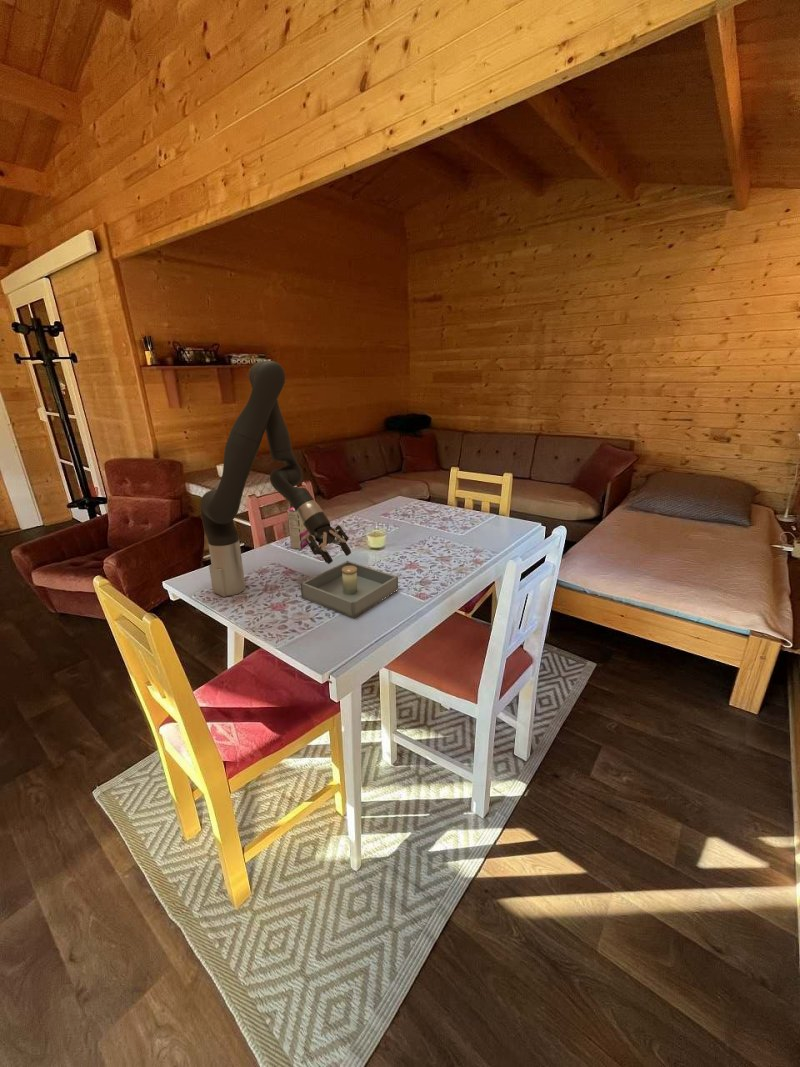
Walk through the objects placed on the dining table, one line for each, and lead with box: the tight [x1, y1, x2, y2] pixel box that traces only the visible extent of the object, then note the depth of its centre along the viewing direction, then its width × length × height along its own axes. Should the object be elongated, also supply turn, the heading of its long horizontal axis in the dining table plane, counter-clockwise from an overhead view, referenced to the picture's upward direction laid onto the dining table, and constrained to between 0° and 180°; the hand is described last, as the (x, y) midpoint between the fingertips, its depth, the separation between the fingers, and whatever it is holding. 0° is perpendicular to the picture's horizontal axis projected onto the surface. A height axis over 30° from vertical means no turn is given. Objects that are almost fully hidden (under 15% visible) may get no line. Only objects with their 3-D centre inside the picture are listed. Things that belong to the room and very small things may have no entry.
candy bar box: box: [286, 506, 310, 550], centre depth 184 cm, size 11×5×16 cm, turn 168°
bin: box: [300, 560, 399, 619], centre depth 144 cm, size 22×22×5 cm
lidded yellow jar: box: [342, 566, 357, 595], centre depth 144 cm, size 5×5×8 cm
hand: (340, 558), depth 143 cm, fingers open, 8 cm apart
